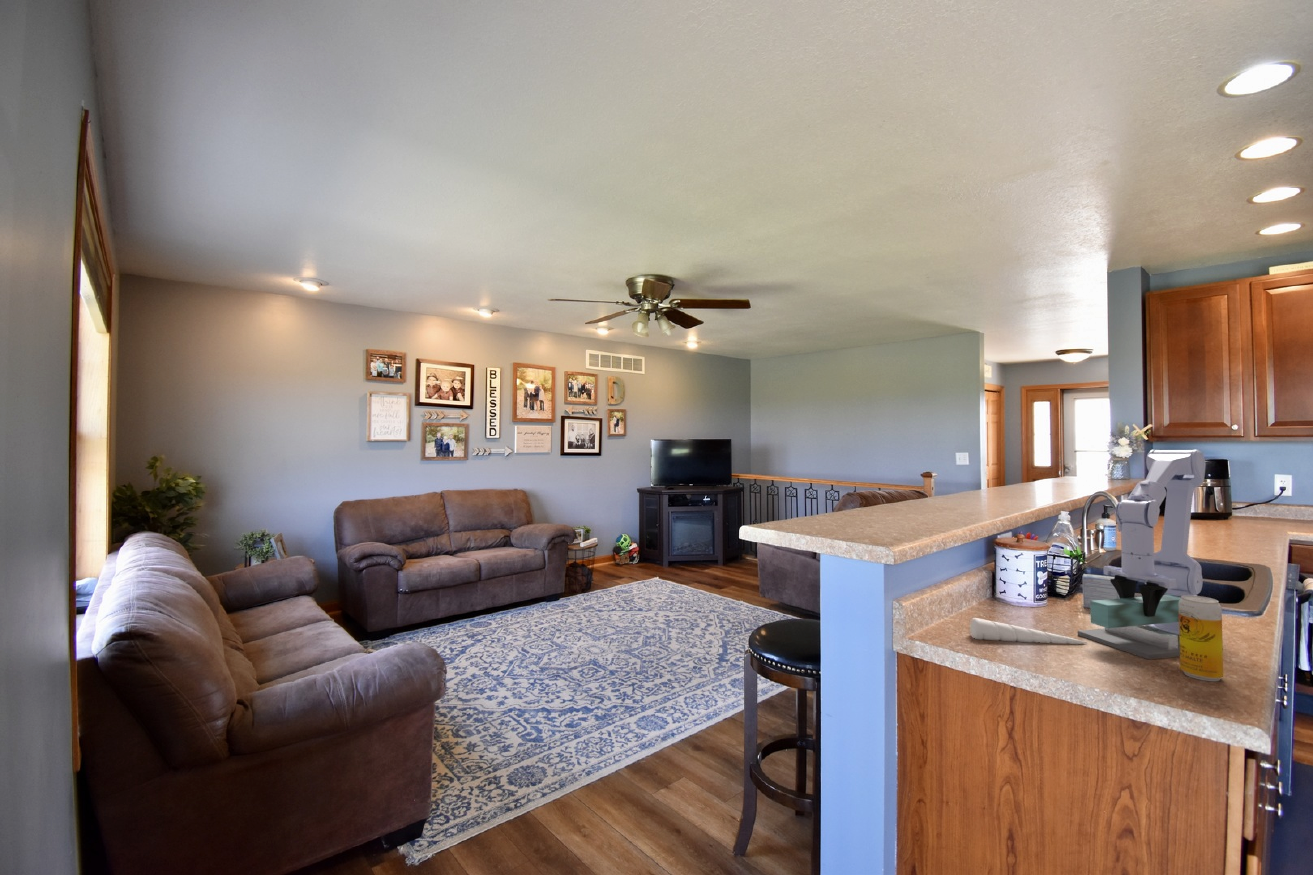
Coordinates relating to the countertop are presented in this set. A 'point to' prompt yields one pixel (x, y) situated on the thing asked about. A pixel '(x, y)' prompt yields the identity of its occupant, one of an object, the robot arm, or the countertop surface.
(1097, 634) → the ridge stand
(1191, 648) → the beer can
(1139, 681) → the countertop surface
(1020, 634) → the unicorn horn
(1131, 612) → the teal wavy bar
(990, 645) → the countertop surface
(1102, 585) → the medicine box
